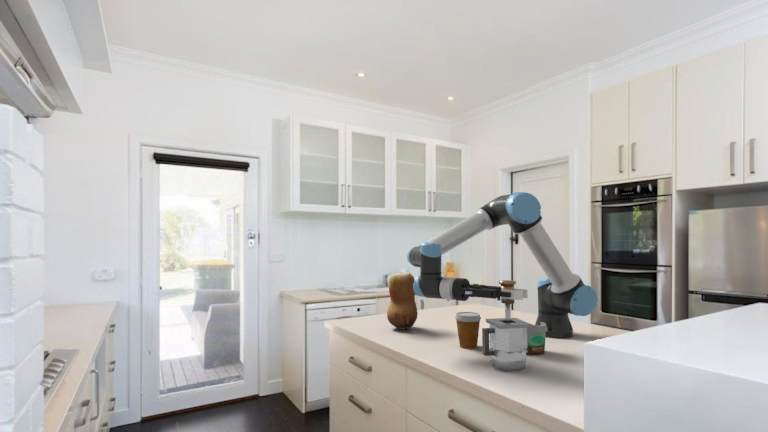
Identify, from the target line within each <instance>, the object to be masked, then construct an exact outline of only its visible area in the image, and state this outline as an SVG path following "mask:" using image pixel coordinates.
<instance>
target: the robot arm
mask: <svg viewBox="0 0 768 432" xmlns="http://www.w3.org/2000/svg"><path fill="white" fill-rule="evenodd" d="M541 209H542V207H541V203H540V201H539V199H538V198H537V197H536V196H535V195H533V194H532V193H530V192H525V191H524V192H522V191H519V192H513V193H509V194H504V195H500V196H497V197H496V198H493V199H492V200H491V201H489V202H487V203H486V204H484V205H483V206H481V207H479V208H478V209H476V213H473V214H472V215H471V216H469V217H467V218H466V219H464V220H462V221H460V222H459V223H456V224H455V225H452V227H449V228H448V229H446V230H445V231H443V232H441V233H439V234H438V235H436V236H434V237H432V238H431V239H429V240H427V241H425V242H422V243H420V245H418V246H414V247H411V248H410V249H409V250H408V251H407V254H406V260H407V262H409V264H410V265H412V266H413V267H415V268H419V270H420V272H419V275H417V276H416V277H414V283H413V290H414V292H415V296H418V297H421V298H422V297H423V298H426V299H429V298H430V299H440V300H446V301H447V302H450V301H451V300H452V301H454V300H456V301H460V302H461V301H462V302H467V300H468V299H469V298H481V299H482V298H483V299H484V298H485V299H493V300H497V301H501V298H504V299H514V301H515V300H517V301H523V300H524V299H528V298H529V297H528V295H529V294H528V289H525V288H518V287H517V288H515V287H514V290H504V289H501V286H498V285H497V286H496V285H495V286H494V285H484V284H478V283H473V284H470V281H469V279H467V278H463V277H458V278H456V277H451V276H449V277H448V276H442V256H443V255H444V254H446V253H448V252H450V251H451V250H453V249H455V248H456V247H457V248H458V246H460V245H461V244H463V243H465V242H467V241H468V240H471V239H472V238H474V237H475V236H478V235H479V234H481V233H482V232H484V231H486V230H488V231H491V230H492V229H494V228H497V227H501V226H504V225H509V227H510V228H511V230H512V232H513V233H514V234H515V235H519V236H520V237H521V238H522V240H523V241H524V242H525V244H526V246H527V247H528V249H529V251H530V252H531V254H532V255H533V256H534V258H535V260H536V261H537V264H539V266H540V267H541V270H542V271H543V272H544V273H545V275H546V278H541V279H539V280H538V282H537V286H536V287H537V288H536V289H537V309H538V310H537V313H538V314H537V317H536V320H535V323H534V325H538V324H540V322H544V323H546V325H547V328H548V331H547V332H546V337H547V338H556V339H566V338H571V337H574V329H573V326H572V323H571V321H570V317H569V314H571V315H574V316H580V317H586V316H588V315H591V314H592V313H593V312H594V311H595V309H596V307H597V303H598V300H599V299H598V294H597V291H596V290H595V289H594V288H593V286H591V285H587V284H585V283H584V281H583V280H582V278H581V277H580V275H578V274H576V273H573V272H572V270H571V268H570V267H569V266H568V264H567V262H566V261H565V259H564V257H563V256H562V254H561V253H560V251H559V249H558V248H557V246H556V245H555V243H554V242H553V240H552V238H551V237H550V235H549V234H548V232H547V230H546V229H545V228H544V226H543V225H542V221H543V217H542V215H541V214H542V211H541ZM546 337H545V338H546Z"/></svg>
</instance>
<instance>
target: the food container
mask: <svg viewBox="0 0 768 432" xmlns="http://www.w3.org/2000/svg"><path fill="white" fill-rule="evenodd" d="M547 331H548V328H547V325H546V323H544V322H540V324H538V325H535V324H532V328H527V349H526V356H531V357H533V356H543V355H544V354H545V353H546V352H545V351H546V350H545V349H546V332H547Z"/></svg>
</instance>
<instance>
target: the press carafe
mask: <svg viewBox="0 0 768 432" xmlns="http://www.w3.org/2000/svg"><path fill="white" fill-rule="evenodd" d="M485 323H487V324H489V327H482V328H481V332H482V335H481V337H482V338H481V339H482V343H481V345H482V349H481V350H482V355H483V356H484V357H488V356H489V357H490V356H491V367H492V368H493V369H495V370H498V371H500V372H501V371H502V372H506V373H507V372H508V373H520V372H525V371H526V370H527V355H526V349H527V328H532V325H533V324H532V323H529V322H527V321H525V320H522V319H520V318H517V317H511V323H505V317H502V318H501V317H500V318H486V319H485ZM490 348H491V349H490Z"/></svg>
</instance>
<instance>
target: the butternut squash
mask: <svg viewBox="0 0 768 432" xmlns="http://www.w3.org/2000/svg"><path fill="white" fill-rule="evenodd" d="M414 279H415V277H414V276H413V274H412V273H411V272H408V271H403V272H397V273H393V274H392V275H391V276H390V277H389V280H388V283H389V284H388V285H389V286H388V293H389V296H390V303H389V305H388V308H387V311H386V313H387V314H386V316H387V318H386V319H387V320H388V323H389V324H391V325H392V326H393V327H395V329H399V330H408V329H410V328H412V327H413V326H414V324H415V323H416V321H417V320H418V309H417V303H416V298H415V296H416V294H415V292H414V290H413V283H414Z"/></svg>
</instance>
